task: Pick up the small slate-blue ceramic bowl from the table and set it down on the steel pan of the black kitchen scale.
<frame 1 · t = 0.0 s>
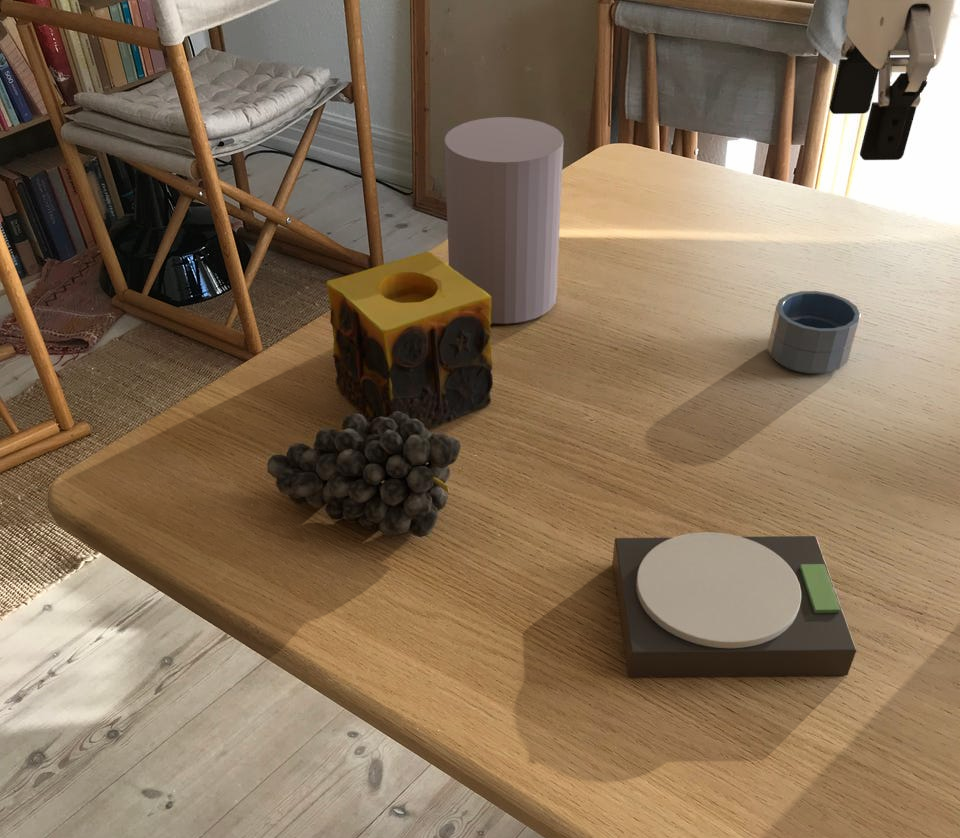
hand: (863, 134, 83), 18 cm above the table, tool pointing down, fingers open, 9 cm apart
bowl: (806, 356, 93), on the table
scale: (723, 616, 70), on the table
fruit: (366, 510, 79), on the table
candle: (413, 400, 89), on the table
container: (503, 302, 101), on the table
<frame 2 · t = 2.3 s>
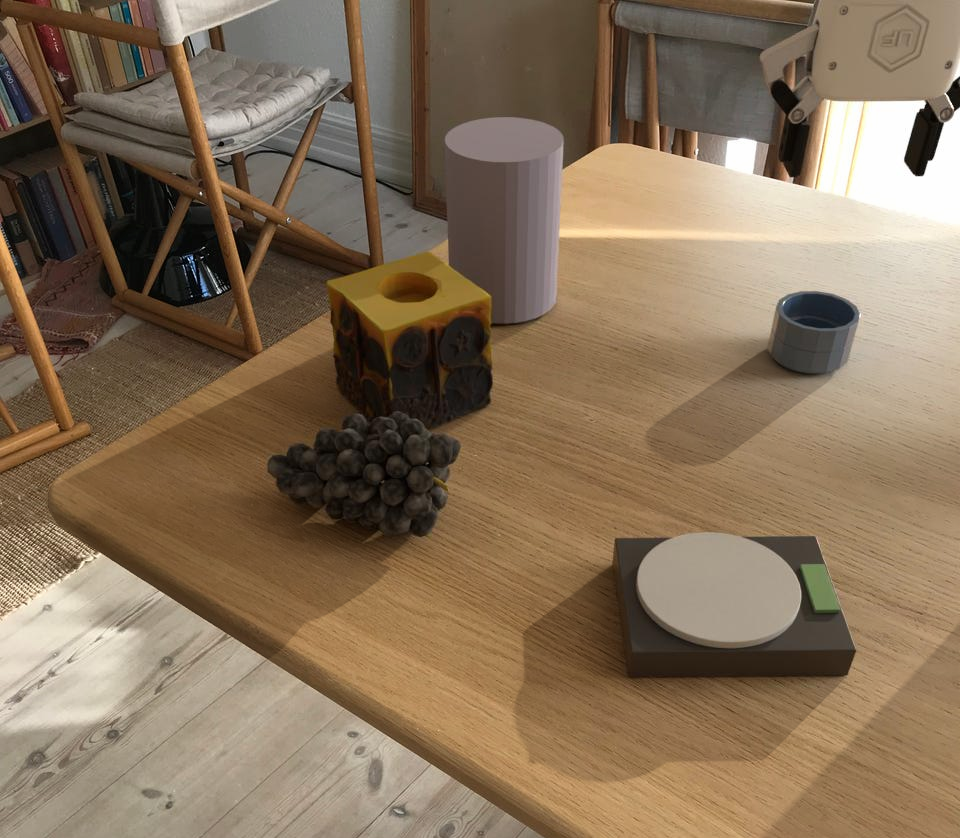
hand: (851, 170, 82), 16 cm above the table, tool pointing down, fingers open, 9 cm apart
nothing on the table moved.
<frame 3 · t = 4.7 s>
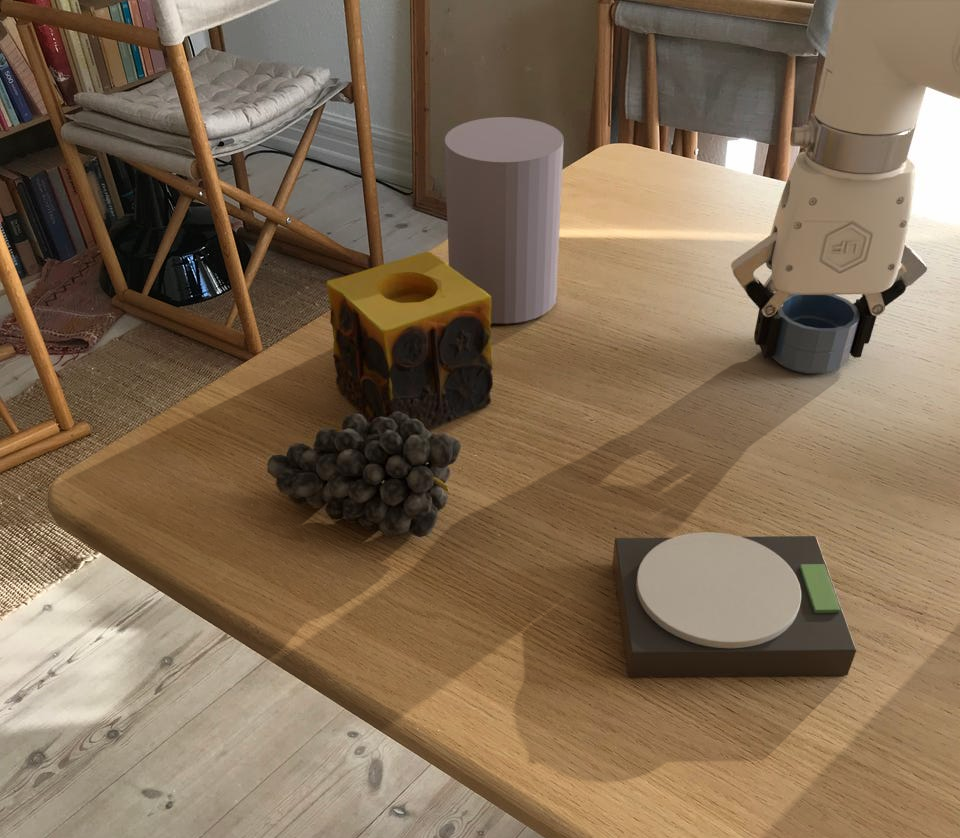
hand: (808, 348, 92), 1 cm above the table, tool pointing down, fingers closed on bowl, 7 cm apart
bowl: (806, 356, 93), on the table, touching gripper
everything else where it was.
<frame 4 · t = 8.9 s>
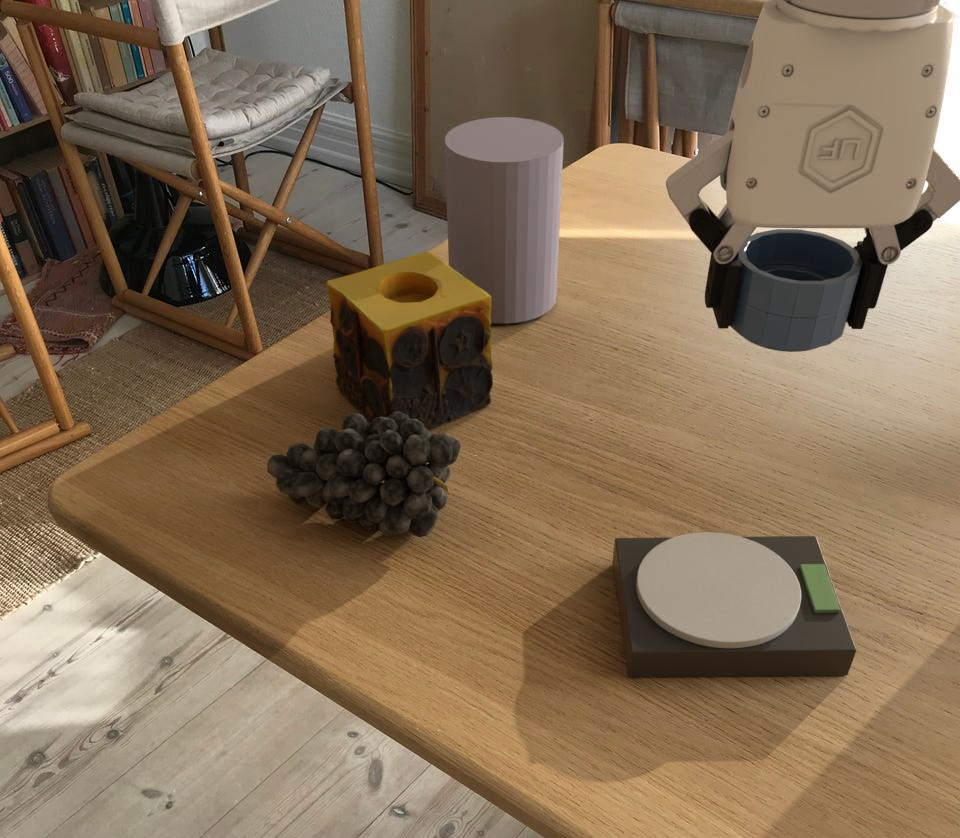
hand: (785, 315, 62), 18 cm above the table, tool pointing down, fingers closed on bowl, 7 cm apart
bowl: (783, 327, 63), point 17 cm above the table, touching gripper
everything else where it was.
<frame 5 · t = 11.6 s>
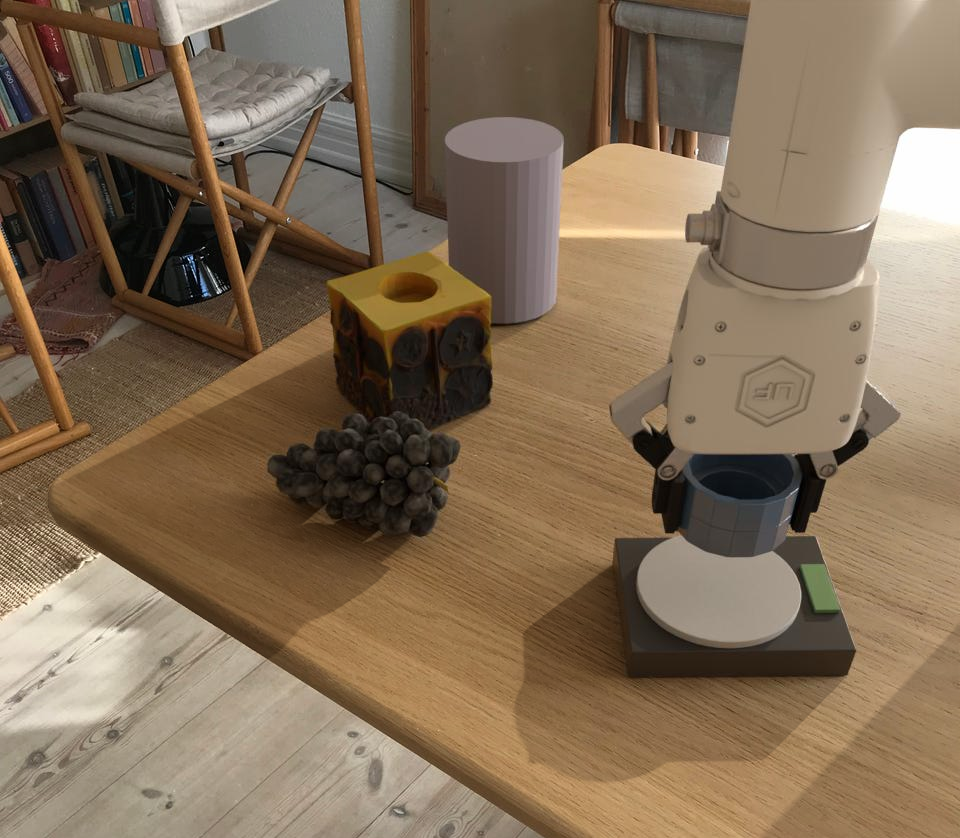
hand: (730, 517, 64), 9 cm above the table, tool pointing down, fingers closed on bowl, 7 cm apart
bowl: (728, 526, 64), point 8 cm above the table, touching gripper
everything else where it was.
when the fingers open (4 cm above the table, at t = 13.4 s): bowl stays where it is, resting on scale.
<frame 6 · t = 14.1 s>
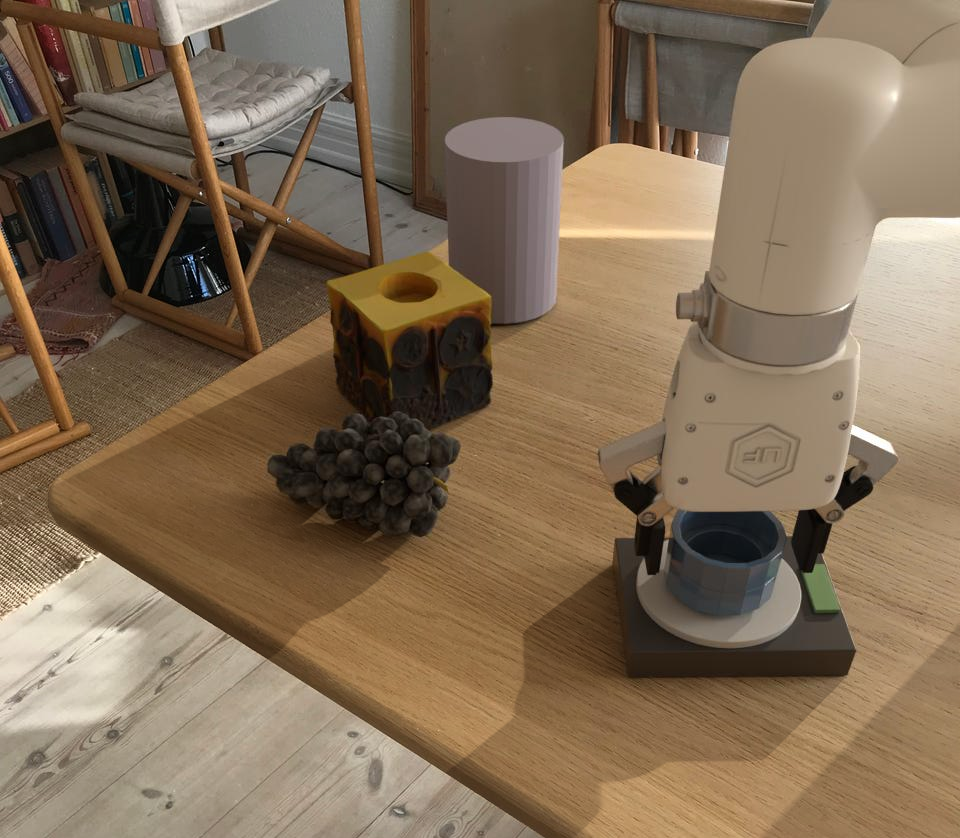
hand: (725, 559, 66), 5 cm above the table, tool pointing down, fingers open, 9 cm apart
bowl: (717, 583, 68), point 3 cm above the table, touching scale
everything else where it was.
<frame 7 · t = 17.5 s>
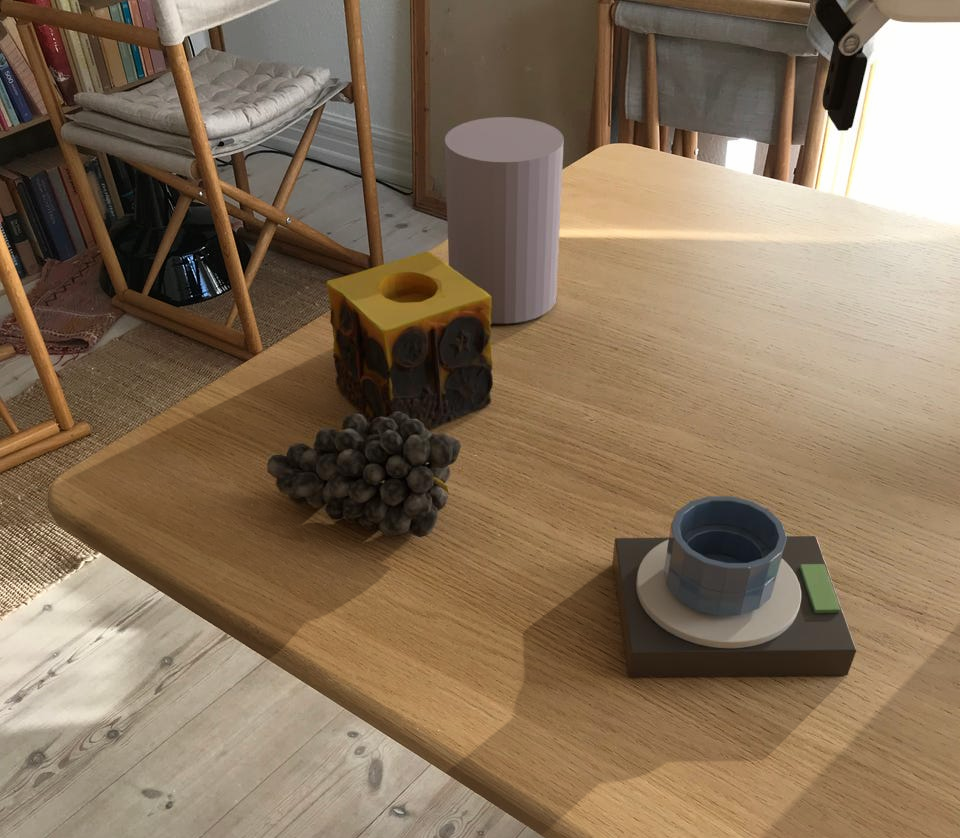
hand: (919, 121, 62), 26 cm above the table, tool pointing down, fingers open, 9 cm apart
nothing on the table moved.
at the end: bowl inside the target area on the scale (0.1 cm from its centre), point 3.0 cm above the scale's base; bowl tilted 0°; the gripper is holding nothing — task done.
